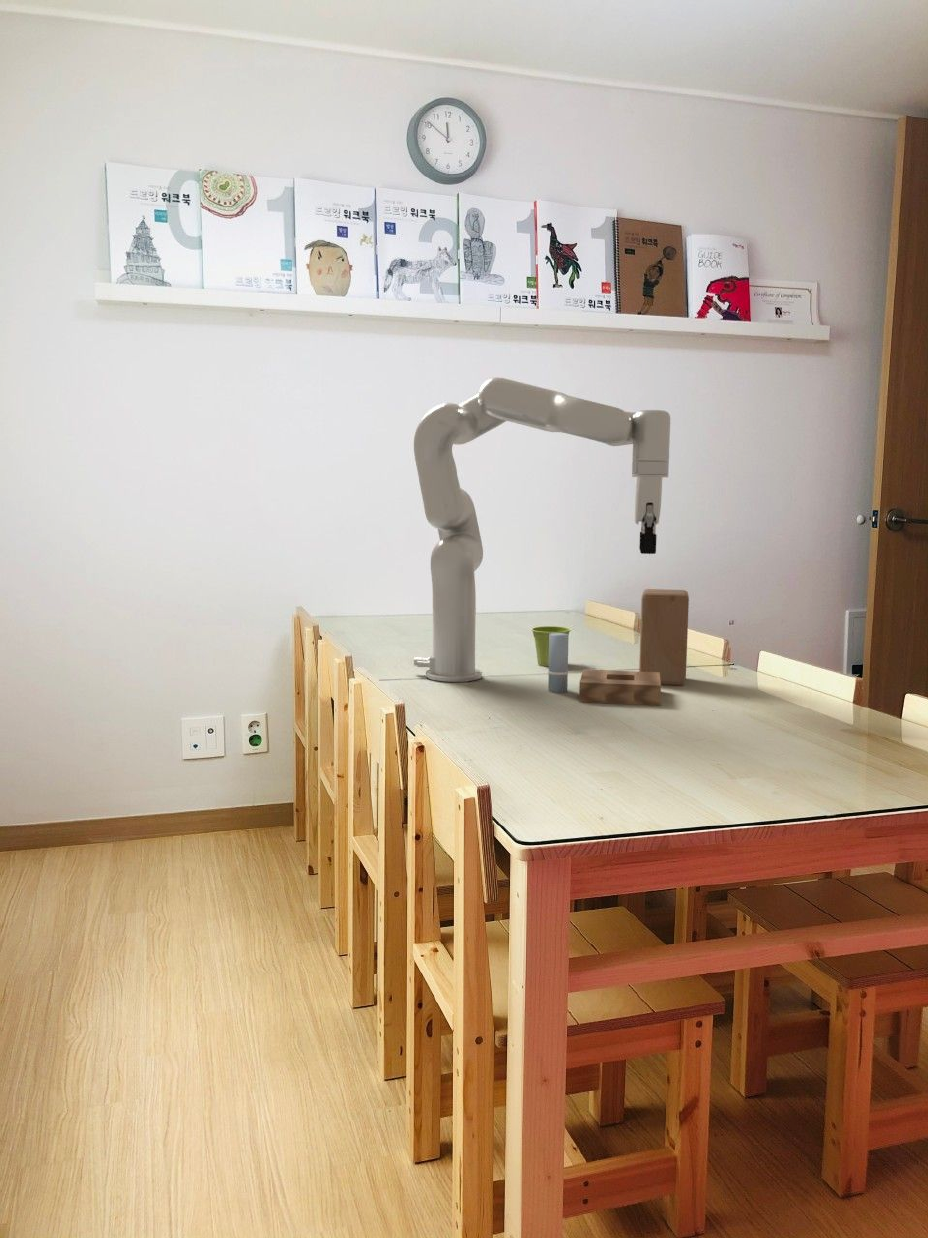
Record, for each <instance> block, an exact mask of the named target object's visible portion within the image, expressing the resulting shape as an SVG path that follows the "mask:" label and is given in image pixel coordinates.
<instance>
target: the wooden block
mask: <svg viewBox="0 0 928 1238" xmlns="http://www.w3.org/2000/svg"><path fill="white" fill-rule="evenodd" d="M640 600H641V602H640V603H641V604H640V630H639V631H640V633H639V634H640V635H639V660H638V661H639V665H638V666H639V667H638V669H639V670H638V672H659V673H660V680H661V686H684V685H685V683H686V681H687V680H686V679H687V660H688V659H687V657H688V654H687V653H688V635H689V633H688V629H689V627H688V626H689V608H690V607H689V605H690V597H689V593H688V590H685V589H664V588H663V589H662V588H661V589H658V588H656V589H655V588H647V589H644V590H643V592H642V594H641V599H640Z"/></svg>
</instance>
